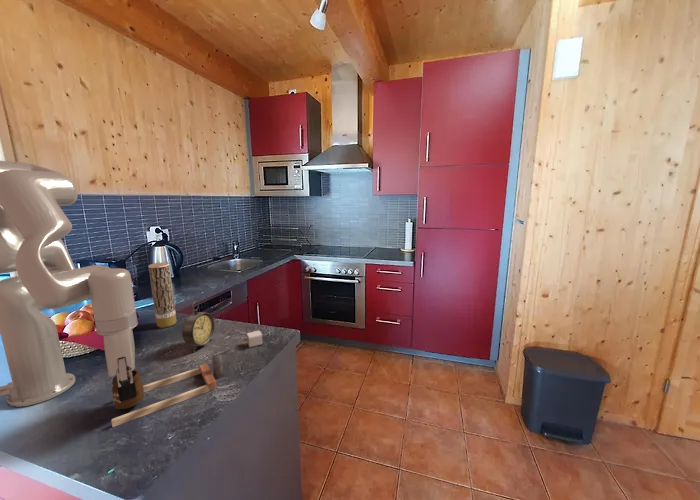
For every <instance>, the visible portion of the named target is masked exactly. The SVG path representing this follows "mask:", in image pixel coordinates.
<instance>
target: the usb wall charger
mask: <svg viewBox="0 0 700 500" xmlns="http://www.w3.org/2000/svg"><path fill="white" fill-rule="evenodd" d="M239 342H240V344H242V345H245V344H247V346H248V348H252V347H253V348H254V347H257V346H260V345H263V334H262V332H261V331H260V330H255V331H251V332H247V333H246V338H242V339H241V340H239Z"/></svg>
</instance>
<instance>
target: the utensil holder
mask: <svg viewBox="0 0 700 500" xmlns="http://www.w3.org/2000/svg"><path fill="white" fill-rule="evenodd" d="M127 370H129V367H128V368H127ZM127 376H129V373H127ZM132 376H133V381H134V380H135V386H136V392H137V396H136V397H134V398H131V399H128V400H125V401H122V402H120V399H119V393H118V388H117V386H118V381H117V374H115V376H113V377H112V388H111V393H112V401H114V402H113V404H114V407H115V408H116V409H119V410H126V409H129V408H132V407H134V406H136V405H138V404H140V403H141V402H142V401H143V399H144V397H145V393H144V389H143V386H144V385H143V380H142V378H141V377H140V376H141V375H140V372H139V371H138V370H137V369H134V370H133V371H132ZM129 377H130V376H129Z"/></svg>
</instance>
